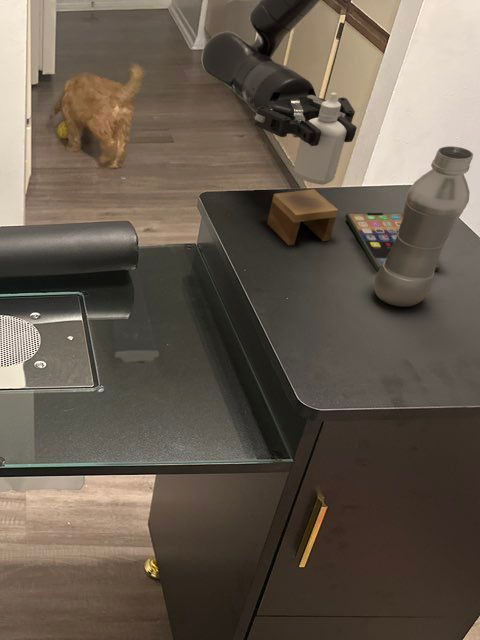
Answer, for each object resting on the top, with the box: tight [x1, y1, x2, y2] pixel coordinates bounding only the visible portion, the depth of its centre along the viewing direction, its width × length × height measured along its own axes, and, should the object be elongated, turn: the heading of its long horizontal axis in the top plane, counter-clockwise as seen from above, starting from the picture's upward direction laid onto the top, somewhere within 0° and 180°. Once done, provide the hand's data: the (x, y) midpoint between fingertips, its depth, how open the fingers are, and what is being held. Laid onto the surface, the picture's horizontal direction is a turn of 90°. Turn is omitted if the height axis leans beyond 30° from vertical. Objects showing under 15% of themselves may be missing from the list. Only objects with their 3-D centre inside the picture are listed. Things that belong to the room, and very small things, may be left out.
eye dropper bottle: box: [292, 92, 346, 186], centre depth 100 cm, size 4×6×12 cm
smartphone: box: [345, 212, 440, 272], centre depth 106 cm, size 8×15×1 cm, turn 175°
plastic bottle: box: [373, 145, 474, 307], centre depth 89 cm, size 6×7×20 cm
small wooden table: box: [266, 188, 339, 246], centre depth 108 cm, size 6×7×5 cm
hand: (334, 137), depth 98 cm, fingers closed on eye dropper bottle, 4 cm apart
